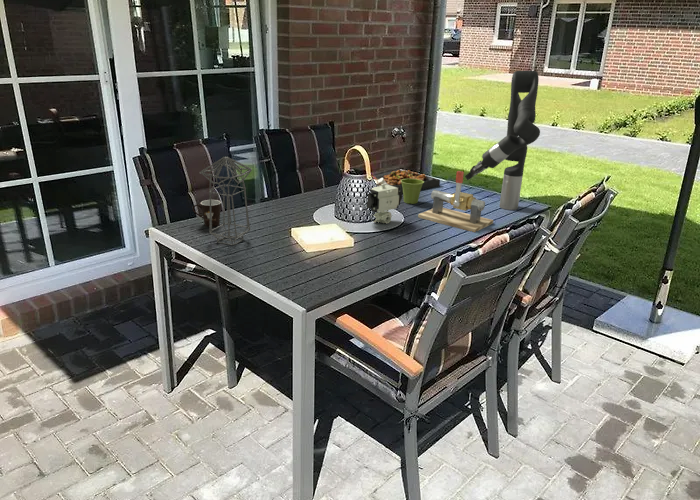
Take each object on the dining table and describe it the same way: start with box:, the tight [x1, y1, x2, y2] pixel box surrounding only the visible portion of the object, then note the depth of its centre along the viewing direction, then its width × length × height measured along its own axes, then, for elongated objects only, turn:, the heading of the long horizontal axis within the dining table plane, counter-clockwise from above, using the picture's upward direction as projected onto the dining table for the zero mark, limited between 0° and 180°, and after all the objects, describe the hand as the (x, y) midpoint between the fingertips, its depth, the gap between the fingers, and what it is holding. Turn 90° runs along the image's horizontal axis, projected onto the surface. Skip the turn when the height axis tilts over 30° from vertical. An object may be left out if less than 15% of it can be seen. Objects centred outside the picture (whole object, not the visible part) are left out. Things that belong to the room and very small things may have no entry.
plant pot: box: [401, 179, 424, 205], centre depth 283 cm, size 12×12×11 cm
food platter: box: [370, 169, 441, 194], centre depth 313 cm, size 45×25×10 cm, turn 126°
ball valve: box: [367, 184, 403, 224], centre depth 250 cm, size 18×8×18 cm, turn 127°
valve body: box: [430, 189, 486, 224], centre depth 256 cm, size 8×26×12 cm, turn 50°
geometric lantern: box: [199, 156, 253, 246], centre depth 217 cm, size 16×16×35 cm
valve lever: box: [452, 170, 465, 207], centre depth 247 cm, size 2×3×16 cm, turn 50°
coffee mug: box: [192, 199, 222, 228], centre depth 241 cm, size 12×9×10 cm
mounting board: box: [417, 207, 494, 233], centre depth 259 cm, size 18×30×2 cm, turn 50°
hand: (466, 178), depth 243 cm, fingers closed
